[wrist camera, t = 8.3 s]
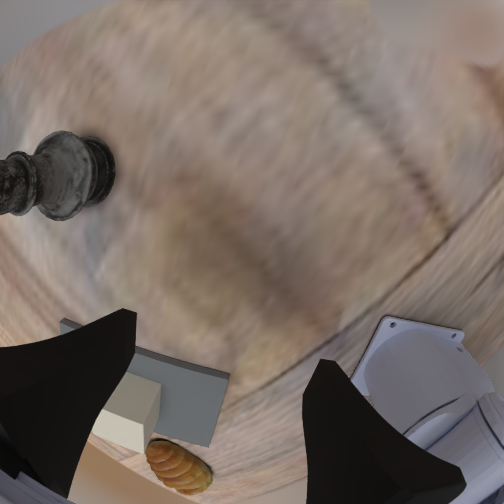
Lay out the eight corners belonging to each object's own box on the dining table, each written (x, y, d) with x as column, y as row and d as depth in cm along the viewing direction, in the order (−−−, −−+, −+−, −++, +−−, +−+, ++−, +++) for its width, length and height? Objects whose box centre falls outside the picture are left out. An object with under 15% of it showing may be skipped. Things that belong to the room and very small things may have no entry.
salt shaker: (115, 216, 19) (-11, 278, 8) (56, 206, 19) (-63, 251, 8) (123, 133, 18) (-15, 126, 6) (62, 132, 18) (-66, 136, 6)
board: (229, 373, 23) (228, 379, 22) (209, 442, 26) (208, 447, 25) (63, 318, 23) (59, 322, 22) (76, 394, 26) (72, 399, 25)
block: (161, 383, 23) (143, 424, 18) (159, 416, 24) (144, 454, 20) (110, 365, 23) (85, 401, 18) (113, 399, 24) (93, 434, 20)
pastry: (134, 437, 28) (125, 461, 24) (179, 433, 27) (171, 460, 23) (177, 476, 30) (171, 497, 26) (220, 473, 29) (217, 496, 25)
